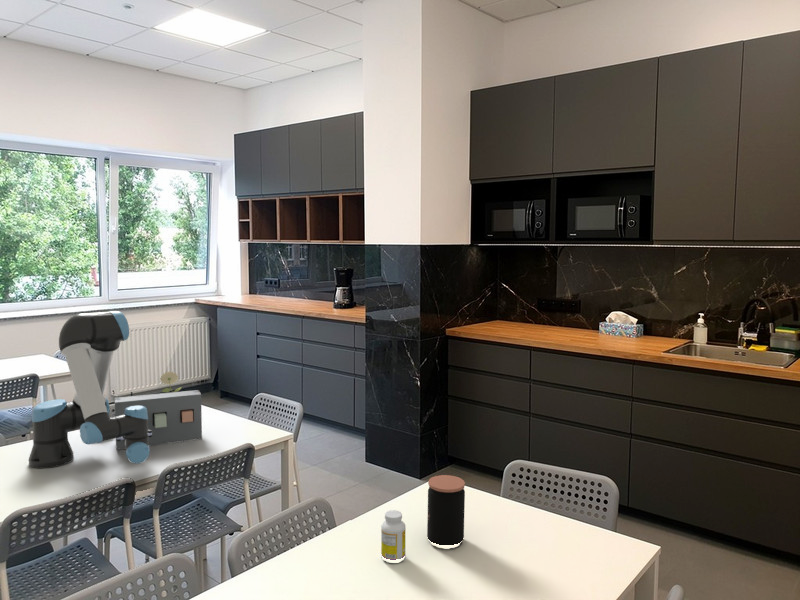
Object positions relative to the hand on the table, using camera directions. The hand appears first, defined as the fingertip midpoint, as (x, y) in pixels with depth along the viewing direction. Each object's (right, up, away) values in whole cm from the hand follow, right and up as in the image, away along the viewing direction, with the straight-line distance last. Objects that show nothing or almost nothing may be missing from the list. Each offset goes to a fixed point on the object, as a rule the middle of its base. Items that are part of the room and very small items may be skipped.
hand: (132, 424), depth 245 cm
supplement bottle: (+108, -20, -80) cm, 136 cm away
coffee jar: (+123, -20, -71) cm, 143 cm away
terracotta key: (+17, -1, +15) cm, 23 cm away
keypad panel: (+6, -10, +13) cm, 18 cm away
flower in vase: (+3, -8, +39) cm, 40 cm away
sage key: (+9, -2, +7) cm, 12 cm away
